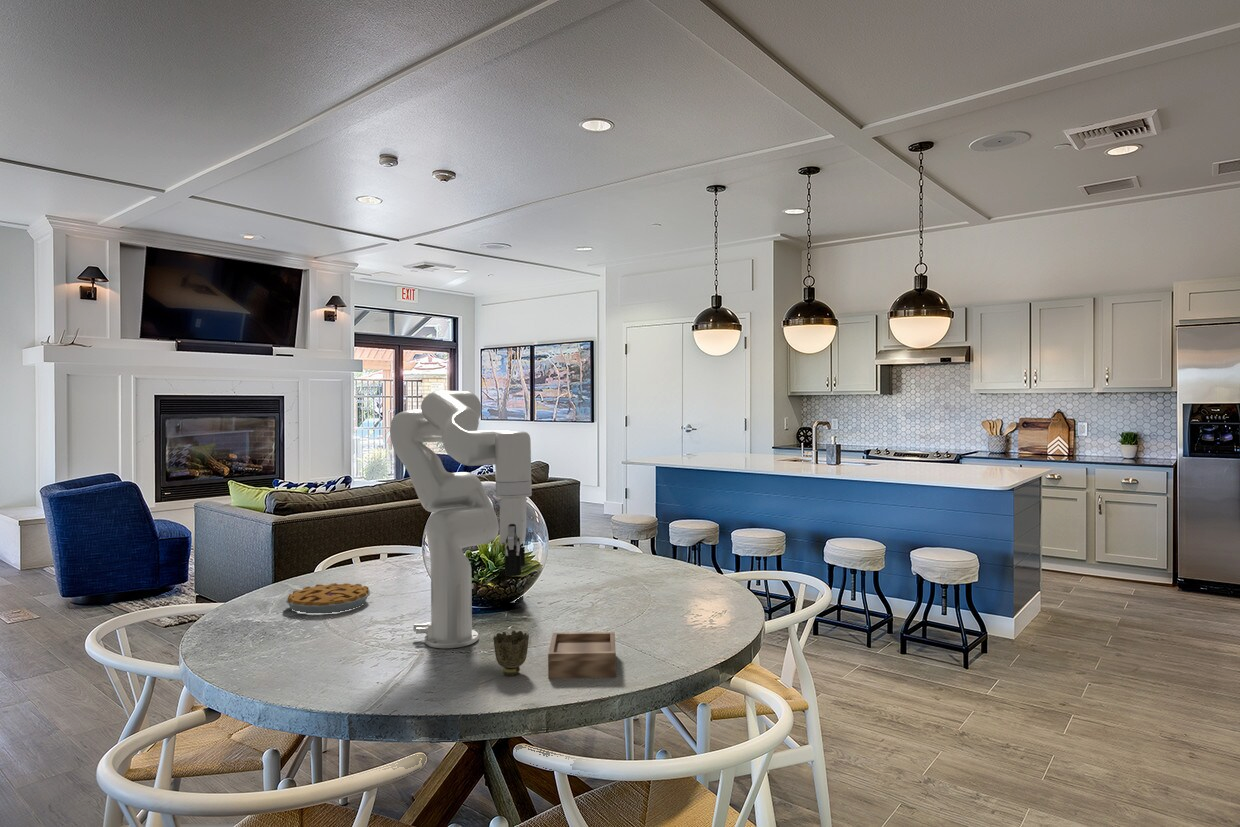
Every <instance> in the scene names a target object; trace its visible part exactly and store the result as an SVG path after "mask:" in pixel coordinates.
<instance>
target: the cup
mask: <svg viewBox="0 0 1240 827" xmlns="http://www.w3.org/2000/svg"><path fill="white" fill-rule="evenodd" d="M529 638H530V635H529V633H528V634H527V632H525V633H524V632H523V631H522V630H519V631H516V630H512V631H511V633H510V634H507V632H506V631H503V632H502V633H501V632H497V633H496V635H493V638H492V640H493V646H494V655H495V659H496V662H497V664H498V665H499V666H500V667H502V672H503V674H504V675H505V676H515V675H518V674H519V673H520V671H521V666H522V665H524V663H525V662H526V659H527V654H528V649H529Z"/></svg>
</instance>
